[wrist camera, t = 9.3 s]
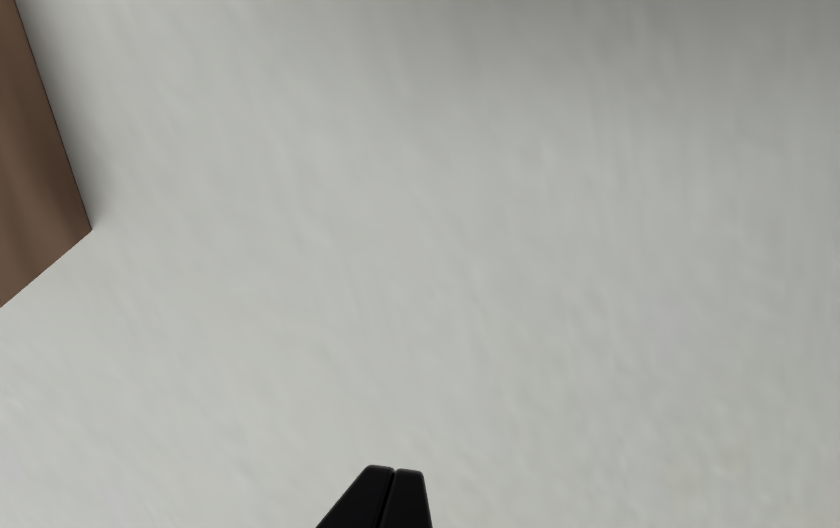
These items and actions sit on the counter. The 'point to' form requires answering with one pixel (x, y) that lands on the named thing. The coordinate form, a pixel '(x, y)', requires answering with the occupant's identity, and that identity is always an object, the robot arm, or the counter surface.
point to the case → (30, 169)
